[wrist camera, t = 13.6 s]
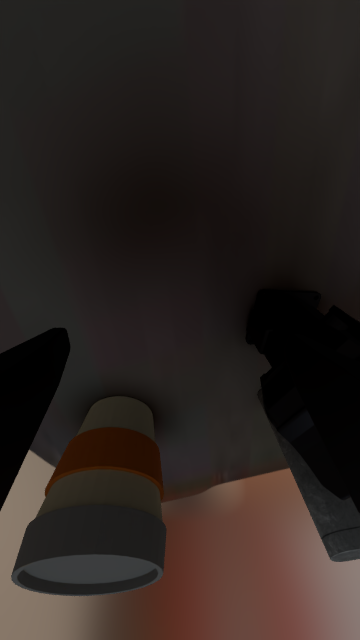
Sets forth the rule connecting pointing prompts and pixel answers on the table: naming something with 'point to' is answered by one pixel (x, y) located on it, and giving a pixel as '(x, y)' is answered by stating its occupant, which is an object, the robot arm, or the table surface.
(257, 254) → the table surface
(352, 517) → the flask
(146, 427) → the reusable coffee cup
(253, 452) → the table surface
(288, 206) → the table surface
